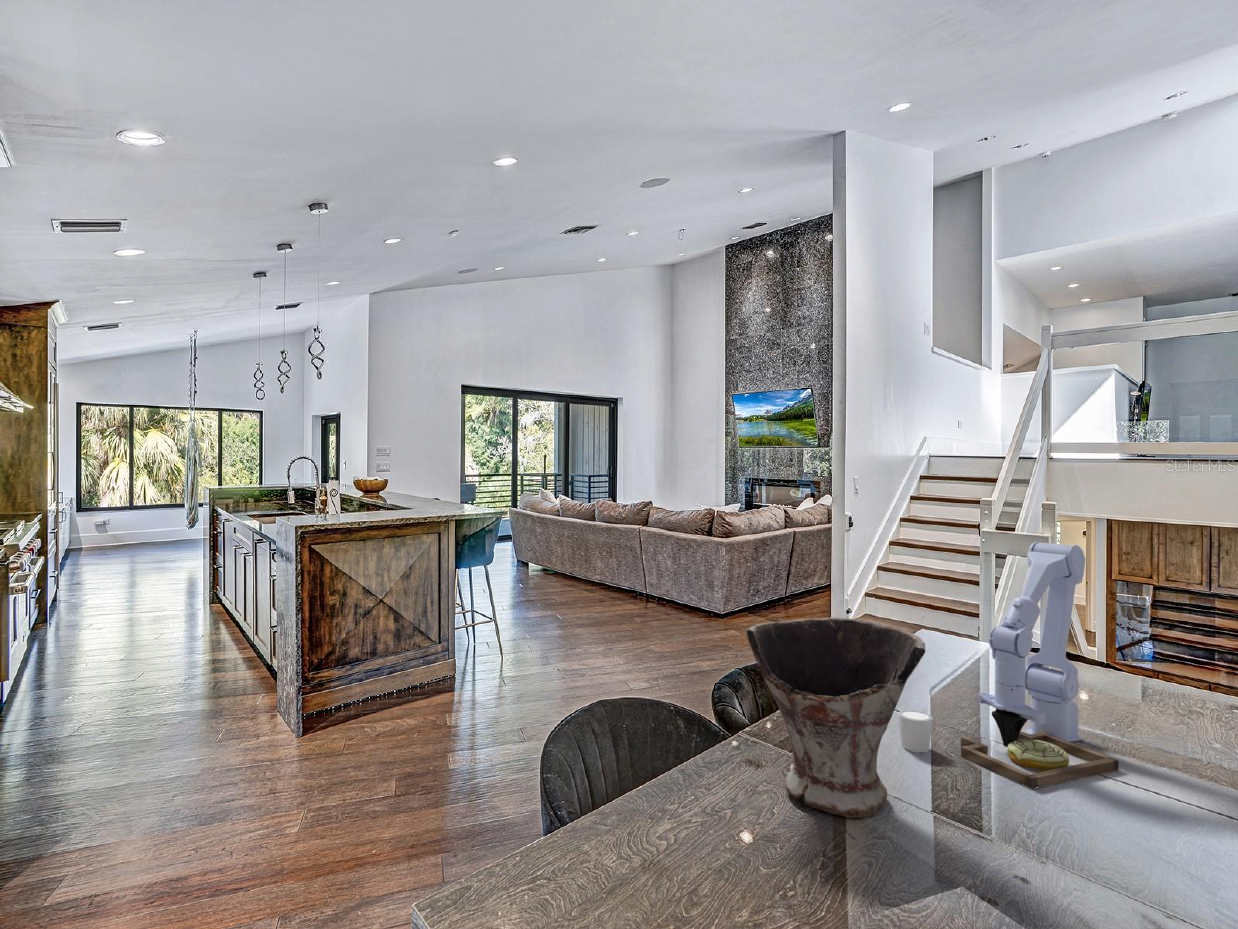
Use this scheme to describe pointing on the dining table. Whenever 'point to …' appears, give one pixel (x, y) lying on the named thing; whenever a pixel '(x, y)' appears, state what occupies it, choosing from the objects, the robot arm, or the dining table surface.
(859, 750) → the vessel
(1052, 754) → the decorated donut
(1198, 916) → the dining table surface
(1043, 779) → the frame
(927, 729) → the white cylinder
